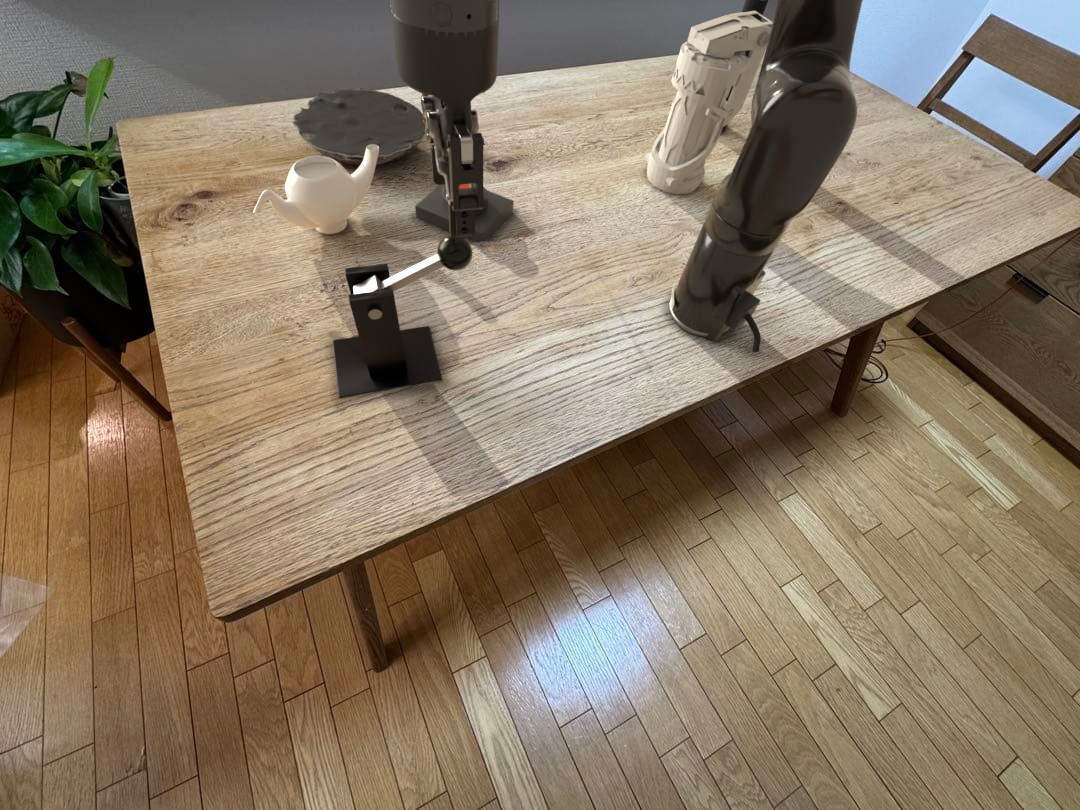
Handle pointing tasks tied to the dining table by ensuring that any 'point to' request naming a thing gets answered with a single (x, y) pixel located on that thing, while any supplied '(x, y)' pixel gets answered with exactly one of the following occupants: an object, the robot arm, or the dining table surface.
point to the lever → (423, 266)
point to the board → (360, 125)
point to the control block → (485, 219)
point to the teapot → (322, 192)
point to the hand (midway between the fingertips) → (452, 208)
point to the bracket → (381, 343)
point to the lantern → (706, 96)
